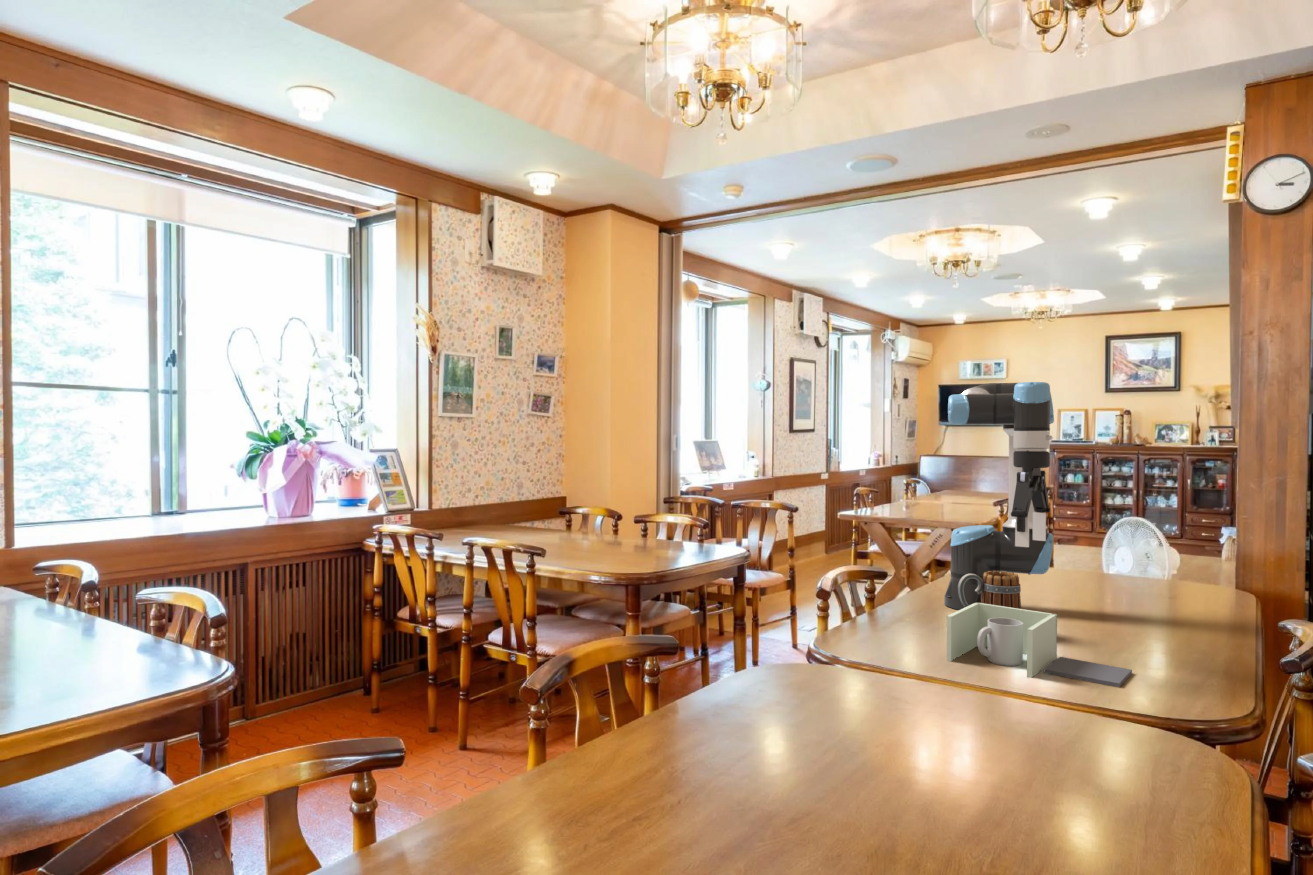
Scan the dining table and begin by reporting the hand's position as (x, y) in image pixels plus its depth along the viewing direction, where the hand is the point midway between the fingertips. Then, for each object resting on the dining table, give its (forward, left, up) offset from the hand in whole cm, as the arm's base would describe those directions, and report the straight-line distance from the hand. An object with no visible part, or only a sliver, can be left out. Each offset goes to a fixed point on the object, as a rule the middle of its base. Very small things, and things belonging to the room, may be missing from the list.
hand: (1030, 543), depth 180 cm
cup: (-4, -9, -26) cm, 28 cm away
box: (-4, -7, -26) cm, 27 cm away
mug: (-14, +15, -26) cm, 33 cm away
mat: (+13, -5, -26) cm, 29 cm away
